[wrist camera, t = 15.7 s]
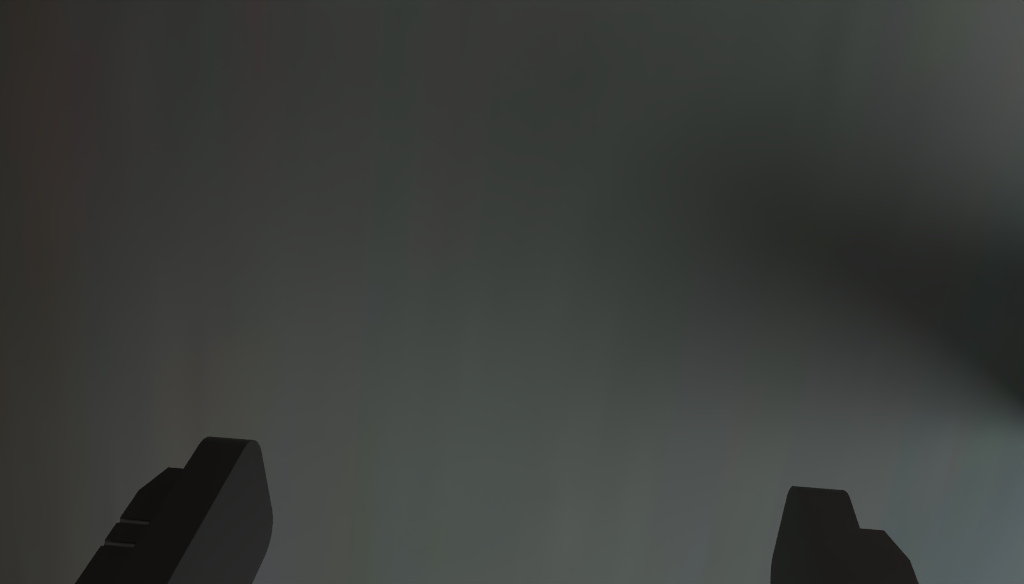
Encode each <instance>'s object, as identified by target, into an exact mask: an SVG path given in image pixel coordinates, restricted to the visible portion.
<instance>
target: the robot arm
mask: <svg viewBox="0 0 1024 584" xmlns="http://www.w3.org/2000/svg"><path fill="white" fill-rule="evenodd" d="M272 524H273V513H272V507H271V501H270V496H269V490H268V485H267V479H266V474H265V469H264V463H263V458H262V452H261V448H260V446H259V444H258V442H257V441H255V440H244V439H232V438H220V437H206V438H205V439H203V440H202V441H201V443H200V444H199V446H198V447H197V449H196V450H195V452H194V453H193V455H192V457H191V458H190V460H189V461H188V463H187V464H186V466H185V467H184V469H181V468H169V467H168V468H167V469H166V470H164V471H163V472H162V473H161V474H159V475H158V476H157V477H155V478H154V479H153V480H152V481H150V482H149V483H148V484H146V485H145V486H144V487H142V488H141V489H140V490H139V491H138V492H137V494H136V495H135V497H134V498H133V500H132V501H131V503H130V504H129V506H128V507H127V508H126V510H125V511H124V513H123V514H122V516H121V517H120V522H119V523H116V524H115V526H114V527H113V529H112V530H111V532H110V533H109V535H108V536H107V538H106V539H105V544H104V546H100V548H99V549H98V551H97V552H96V554H95V555H94V557H93V558H92V560H91V561H90V562H89V564H88V565H87V567H86V568H85V570H84V571H83V573H82V574H81V576H80V577H79V579H78V580H77V581H76V583H75V584H252V582H253V580H254V578H255V576H256V574H257V572H258V570H259V567H260V565H261V563H262V561H263V559H264V557H265V554H266V552H267V549H268V546H269V543H270V538H271V533H272ZM771 584H919V583H918V581H917V578H916V575H915V573H914V570H913V568H912V565H911V562H910V560H909V559H908V558H907V557H906V555H905V554H904V553H903V552H902V551H901V550H900V548H899V547H898V546H897V545H896V544H895V543H894V542H893V540H892V539H891V538H890V537H889V536H888V535H887V534H886V532H885V531H883V530H872V529H860V527H859V524H858V521H857V518H856V515H855V512H854V509H853V506H852V503H851V500H850V497H849V495H848V493H847V492H846V491H844V490H834V489H822V488H809V487H797V486H792V487H791V488H790V490H789V492H788V495H787V499H786V503H785V507H784V511H783V516H782V520H781V524H780V528H779V532H778V537H777V541H776V545H775V549H774V553H773V558H772V564H771Z"/></svg>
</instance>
